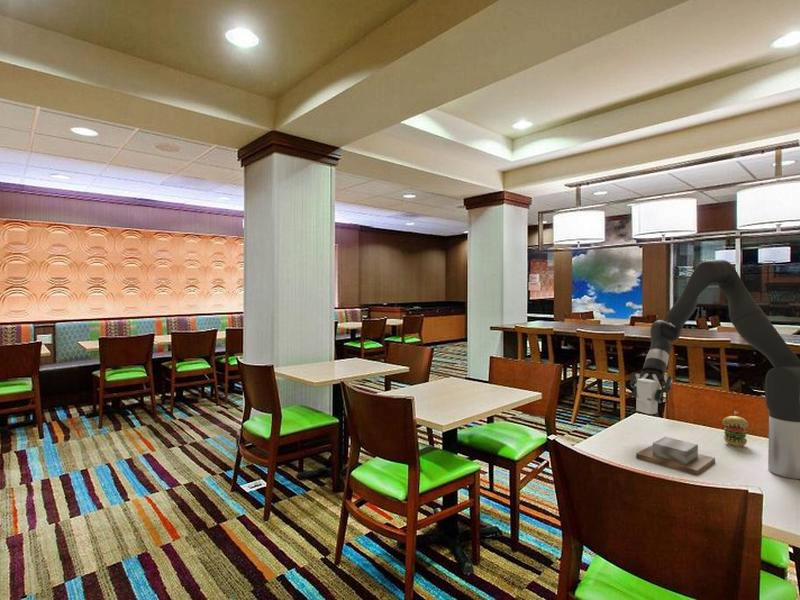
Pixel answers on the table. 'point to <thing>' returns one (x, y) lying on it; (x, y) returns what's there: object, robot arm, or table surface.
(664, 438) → the display stand
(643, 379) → the skincare box
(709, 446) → the table surface
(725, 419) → the hamburger
